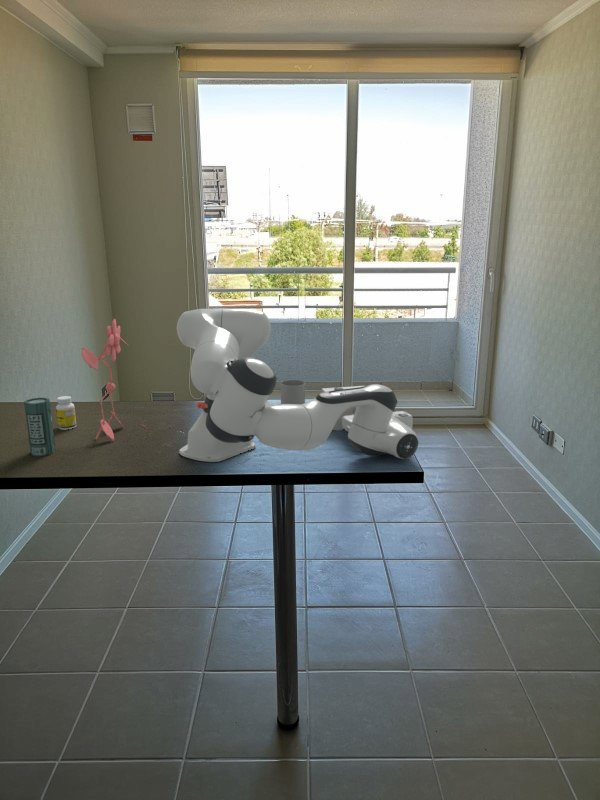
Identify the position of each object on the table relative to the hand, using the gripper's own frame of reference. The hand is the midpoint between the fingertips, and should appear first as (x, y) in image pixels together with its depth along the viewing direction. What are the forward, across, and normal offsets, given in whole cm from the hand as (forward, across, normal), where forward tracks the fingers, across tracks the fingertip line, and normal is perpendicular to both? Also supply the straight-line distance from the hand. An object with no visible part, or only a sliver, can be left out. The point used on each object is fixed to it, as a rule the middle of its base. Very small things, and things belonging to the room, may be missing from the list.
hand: (367, 414), depth 183 cm
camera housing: (+7, -4, -5) cm, 10 cm away
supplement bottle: (+26, -90, -5) cm, 94 cm away
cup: (+26, -17, -5) cm, 31 cm away
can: (+5, -94, -5) cm, 95 cm away
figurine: (+15, -73, -5) cm, 75 cm away
